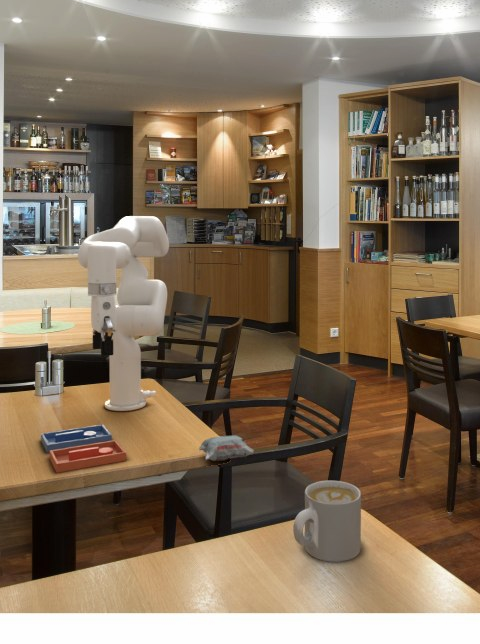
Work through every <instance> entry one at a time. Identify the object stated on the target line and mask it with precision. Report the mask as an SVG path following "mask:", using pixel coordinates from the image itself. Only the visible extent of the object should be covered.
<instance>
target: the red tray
mask: <svg viewBox="0 0 480 644" xmlns="http://www.w3.org/2000/svg"><path fill="white" fill-rule="evenodd" d="M92 447H99V449H101V448H112V449H113V454H109V455H103V456H97V457H91V458H85V459H79V460H73V461H69V451H73V450H79V449H86V448H92ZM49 460H50V462H51V464H52V466H53V469H54V471H55V473H56V474H58V473H63V472H68V471H74V470H79V469H85V468H91V467H96V466H102V465H108V464H112V463H119V462H125V461H127V452H126V450H125V449H124V448H123V446H121V444H120V443H119V442H118V440H117V439H112V441H107V442H101V443H95V444H88V445H82V446H76V447H70V448H64V449H57V450H51V451H50V452H49Z"/></svg>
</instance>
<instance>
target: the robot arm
mask: <svg viewBox="0 0 480 644" xmlns="http://www.w3.org/2000/svg"><path fill="white" fill-rule="evenodd" d="M169 250H170V240H169V236H168V234H167V232H166V228H165V226H164V224H163V223H162V221H161V220H160V219H159V218H158V217H157V216H153V215H152V216H151V215H129V216H124V217H122V218H121V219H119V221H118V222H117V223H116V224H115V225H114V226H113V227H112V228H110V229H106V230H103V231H101V232H96V233H94V234H91V235H89V236H87V237H85V239H84V240H83V241H82V242H81V244H80V245H79V248H78V252H77V260H78V263H79V264H80V266H81V267H82V268H83V269H87V296H89V297H91V300H90V301H91V303H90V309H91V310H90V320H91V321H90V324H91V328H92V349H93V350H100V356H101V357H108V359H109V399H108V400H106V401H105V402H104V408H105V409H107V410H109V411H112V412H113V411H114V412H129V411H135V410H139V409H142V408H144V407H145V406H146V404H147V398H156V397H157V391H156V390H153V391H152V390H151V391H150V390H149V389H148V390H143V389H142V363H141V362H142V361H141V360H142V358H141V357H142V356H141V355H142V350H141V348H140V344H139V343H138V341H137V340H136V339H135V337H155V336H158V335H159V334H160V333H161V332H162V330H163V327H164V322H165V317H166V310H167V302H168V288H167V285H166V283H165V282H164V281H163V280H160V279H148V278H149V271H148V269H147V267H146V266H145V265H144V263H142V262H141V261H140V260H139V259H138V258H162V257H165V256H166V255H167V254H168V252H169ZM120 269H121V275H120V280H119V285H117V270H120ZM117 287H118V289H117ZM115 296H116V299H115ZM116 301H117V304H118V305H116Z"/></svg>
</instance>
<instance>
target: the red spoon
mask: <svg viewBox="0 0 480 644" xmlns="http://www.w3.org/2000/svg"><path fill="white" fill-rule="evenodd" d="M109 454H113V449H112V448H101V449H99V447H92V448H86V449H79V450H73V451H69V461H73V460H79V459H85V458H91V457H97V456H103V455H109Z"/></svg>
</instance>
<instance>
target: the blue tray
mask: <svg viewBox="0 0 480 644" xmlns="http://www.w3.org/2000/svg"><path fill="white" fill-rule="evenodd" d="M79 430H83V431H84V432H87V431H95V432H96V433H97V437H91V438H85V439H78V440H72V441H65V442H59V443H56V442H55V434H59V433H66V432H72V431H79ZM40 441H41V444H42V446H43V448H44V450H45V452H46V453H48V454H50V451H51V450H57V449H64V448H70V447H76V446H82V445H88V444H95V443H101V442H107V441H113V435H112V433H111V432H110V431H109V430H108V428H107V427H106V426H105V425H104V424H97V425H90V426H84V427H76V428H70V429H62V430H55V431H49V432H41V433H40Z"/></svg>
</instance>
